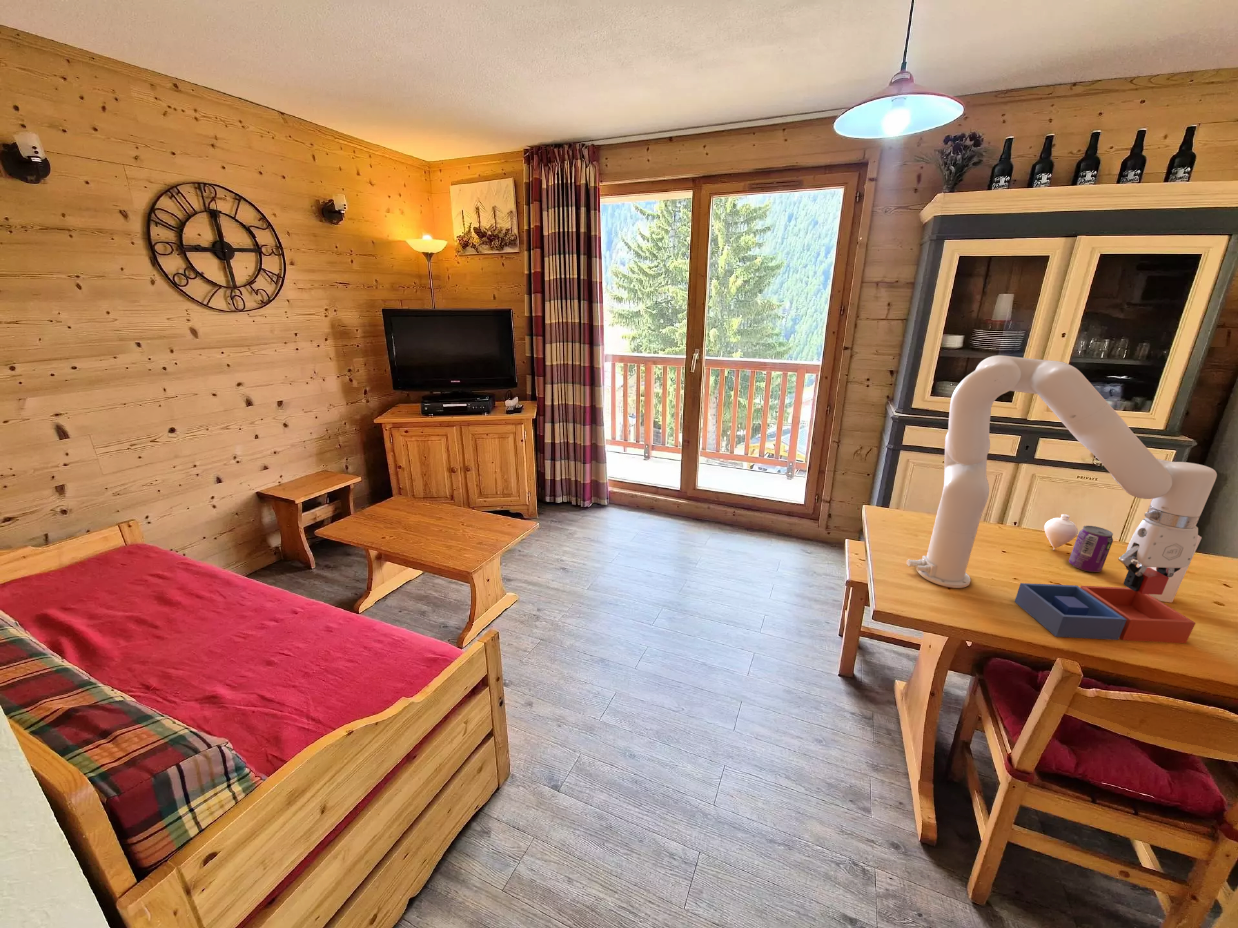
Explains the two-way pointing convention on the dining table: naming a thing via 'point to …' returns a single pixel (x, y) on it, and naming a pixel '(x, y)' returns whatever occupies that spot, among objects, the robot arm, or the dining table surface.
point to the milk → (1173, 581)
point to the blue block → (1069, 606)
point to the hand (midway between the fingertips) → (1142, 587)
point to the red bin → (1144, 615)
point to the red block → (1153, 582)
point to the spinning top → (1060, 530)
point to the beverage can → (1091, 548)
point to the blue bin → (1093, 625)
